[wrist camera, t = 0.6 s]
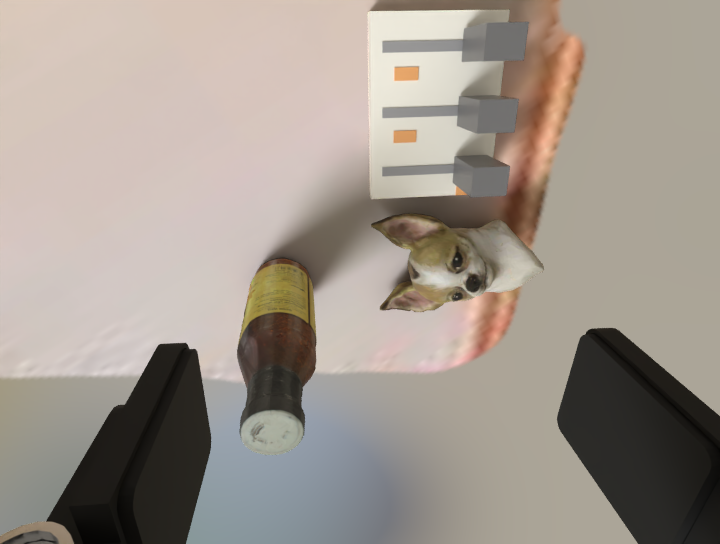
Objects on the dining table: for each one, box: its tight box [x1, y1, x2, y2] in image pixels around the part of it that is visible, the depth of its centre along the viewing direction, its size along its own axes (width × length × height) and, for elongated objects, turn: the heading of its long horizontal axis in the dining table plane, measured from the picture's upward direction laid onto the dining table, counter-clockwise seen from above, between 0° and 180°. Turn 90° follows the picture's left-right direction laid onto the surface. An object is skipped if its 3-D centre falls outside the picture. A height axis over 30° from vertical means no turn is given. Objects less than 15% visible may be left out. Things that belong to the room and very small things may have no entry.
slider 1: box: [461, 22, 529, 62], centre depth 33 cm, size 2×3×5 cm
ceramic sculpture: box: [371, 214, 544, 312], centre depth 41 cm, size 11×9×15 cm
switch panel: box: [367, 9, 510, 199], centre depth 38 cm, size 15×11×2 cm
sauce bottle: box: [237, 258, 316, 455], centre depth 35 cm, size 7×6×20 cm
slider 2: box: [457, 95, 519, 134], centre depth 35 cm, size 2×3×5 cm
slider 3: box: [453, 155, 510, 197], centre depth 37 cm, size 2×3×5 cm
